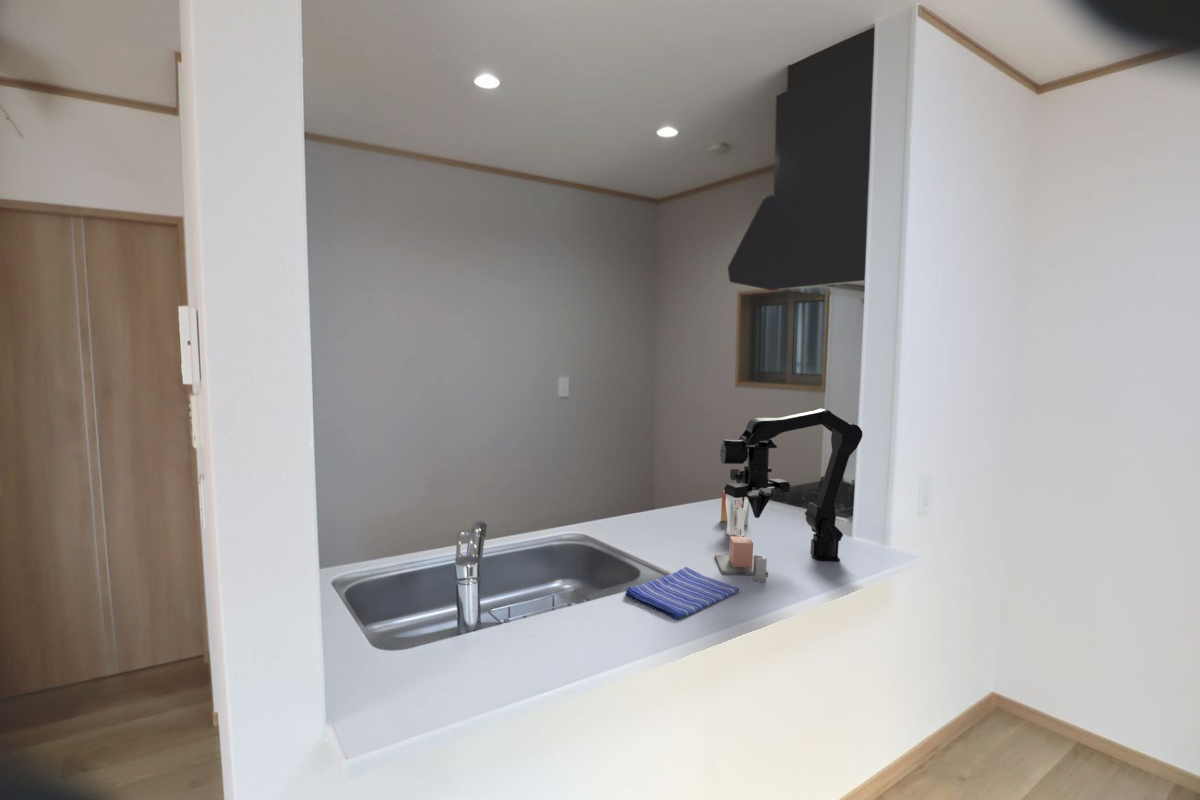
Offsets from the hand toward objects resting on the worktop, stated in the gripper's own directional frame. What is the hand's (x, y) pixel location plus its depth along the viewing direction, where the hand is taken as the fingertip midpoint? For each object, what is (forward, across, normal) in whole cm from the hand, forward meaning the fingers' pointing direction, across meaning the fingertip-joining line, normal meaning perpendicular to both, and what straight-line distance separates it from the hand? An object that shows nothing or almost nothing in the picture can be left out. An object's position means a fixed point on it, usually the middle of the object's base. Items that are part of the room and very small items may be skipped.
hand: (756, 517), depth 166 cm
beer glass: (+12, -6, -19) cm, 23 cm away
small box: (+12, -13, -29) cm, 34 cm away
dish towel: (+12, +32, +15) cm, 38 cm away
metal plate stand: (+11, +8, +4) cm, 15 cm away
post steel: (+12, +9, +14) cm, 20 cm away
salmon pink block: (+11, +8, +4) cm, 14 cm away
